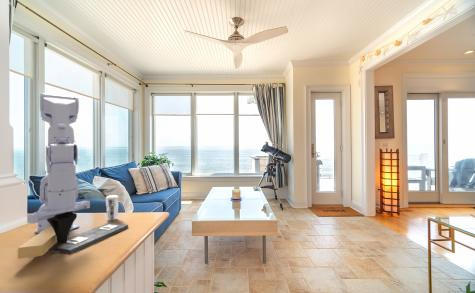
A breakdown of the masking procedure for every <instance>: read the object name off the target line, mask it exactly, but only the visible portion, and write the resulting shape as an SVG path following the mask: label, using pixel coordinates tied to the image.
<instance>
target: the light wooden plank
mask: <svg viewBox="0 0 475 293" xmlns="http://www.w3.org/2000/svg"><path fill="white" fill-rule="evenodd" d="M55 243H57V236H56V234H55V231H54V229H53V228H52V226H51V227H47V228H46V229H44V230H43V231H41V232H40V233H37V234H36V235H34V236H32V237H31V238H30V239H29V240H27V241H25V243H23V244H22V245H20V246H18V248H17V251H18V252H17V258H18V259H25V258H33V257H42V256H43V255H45V254H46V253H47V252H48V251H49V249H50V248H51V247H52V246H53V245H54V244H55Z"/></svg>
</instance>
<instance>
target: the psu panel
mask: <svg viewBox="0 0 475 293" xmlns="http://www.w3.org/2000/svg"><path fill="white" fill-rule="evenodd" d="M128 228H129V224H124V223H113V222H108V223H105V224H103V225H100V226H97V227H94V228H92V229H89V230H86V231H83V232H81V233H78V234H75V235H73V236H71V237H68V238H67V243H64V244H61V243H55V244H54V245H53V246H52V247H51V248H50V249H49V250H48V251H50V252H56V253H63V254H68V255H71V254H73V253H75V252H78V251H81V250H82V249H84V248H87V247H89V246H91V245H93V244H95V243H97V242H100V241H102V240H104V239H107V238H109V237H112V236H114V235H115V234H118V233H120V232H123V231H124V230H126V229H128Z"/></svg>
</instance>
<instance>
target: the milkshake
mask: <svg viewBox="0 0 475 293" xmlns="http://www.w3.org/2000/svg"><path fill="white" fill-rule="evenodd" d="M120 194H121V193H120V192H119V193H118V195H117V194H109V195H107V196H106V197H105V207H106V208H105V209H106V218H107V221H108V222H111V221H112V222H113V221H116V220H117V219H118V218H119V216H118V214H119V202H120Z"/></svg>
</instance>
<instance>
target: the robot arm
mask: <svg viewBox="0 0 475 293" xmlns="http://www.w3.org/2000/svg"><path fill="white" fill-rule="evenodd" d="M79 103H80V102H79V98H78V97H77V96H75V95H74V96H73V95H63V94H56V93H55V94H54V93H45V92H41V93H40V94H39V110H40V117H41V120H42V121H44V122H46V123H48V124H49V127H48V129H47V130H48V131H47V145H45V165H46V173H47V175H46V176H44V177H42V178H41V180H40V185H39V202H40V203H41V205H40V207H39V208H38V210H37V211H35V212H32V213H28V214H27V215H26V216H27V217H26V220H27V221H26V222H27V224H33V225H34V224H37V229H36V230H34V233H37V234H39V233H40V232H41V231H43V230H44V229H46V228H47V227H51V226H52V228H53V229H54V231H55V234H56V236H57V243H61V244H64V243H67V239H68V238H69V237H68V236H69V233H70V231H72V230H75V229H78V228H80V225H78V224H74V222H75V221H76V220H77V217H78V216H77V213H75V212H77V211H80V210H84V209H89V208H91V201H90V200H82V201H77V202H76V200H77V199H78V198H79V183H78V178H77V176H76V172H77V171H76V166H77V164H78V161H79V148H78V144H77V142H76V140H75V132H74V128H73V127H72V126H71V124H74V123H76V122H77V120H78V114H79V109H80V108H79V107H80V104H79ZM74 162H75V164H74Z"/></svg>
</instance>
